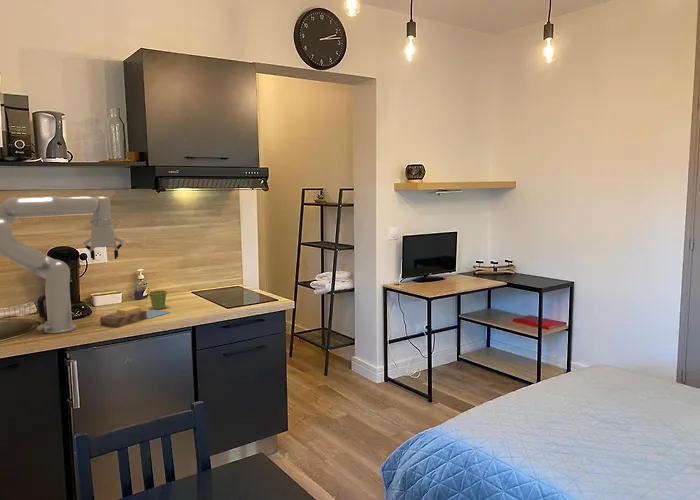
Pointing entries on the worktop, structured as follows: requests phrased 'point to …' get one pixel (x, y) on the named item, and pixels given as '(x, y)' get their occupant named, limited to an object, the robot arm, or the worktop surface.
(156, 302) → the plant pot
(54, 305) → the robot arm
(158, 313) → the mat
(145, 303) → the worktop surface
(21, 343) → the worktop surface
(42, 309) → the milk frother
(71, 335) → the worktop surface
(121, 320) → the brown flat block
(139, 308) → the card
